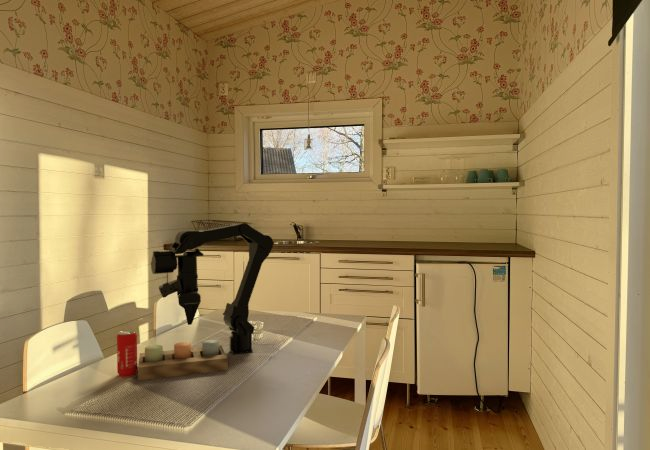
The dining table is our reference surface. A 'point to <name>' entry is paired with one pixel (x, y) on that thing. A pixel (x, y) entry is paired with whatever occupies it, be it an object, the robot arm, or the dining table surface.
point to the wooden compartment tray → (181, 364)
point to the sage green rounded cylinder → (210, 348)
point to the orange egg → (182, 350)
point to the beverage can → (127, 353)
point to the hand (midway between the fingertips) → (189, 321)
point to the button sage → (154, 353)
